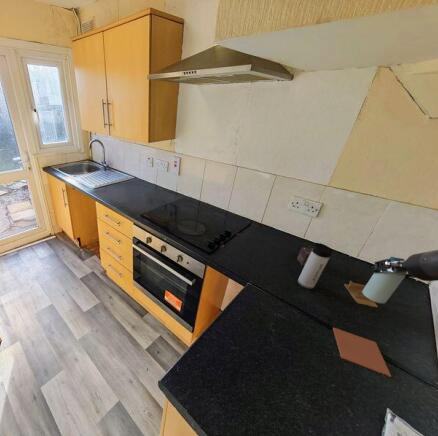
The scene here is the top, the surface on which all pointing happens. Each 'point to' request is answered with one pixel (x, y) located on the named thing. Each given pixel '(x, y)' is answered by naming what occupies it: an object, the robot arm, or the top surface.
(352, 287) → the drying stand
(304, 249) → the box
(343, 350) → the plate
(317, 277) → the travel mug
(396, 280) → the pale blue bottle
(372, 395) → the top surface
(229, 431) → the top surface
